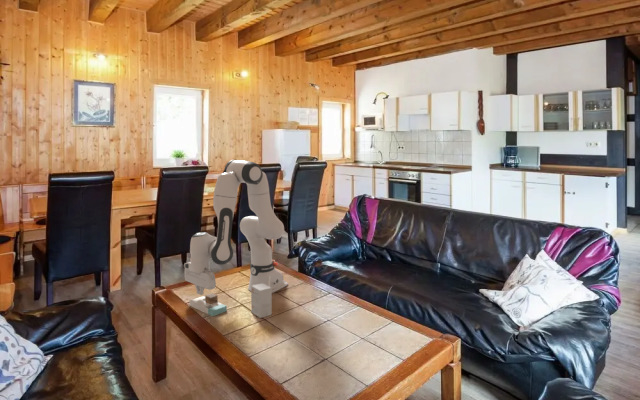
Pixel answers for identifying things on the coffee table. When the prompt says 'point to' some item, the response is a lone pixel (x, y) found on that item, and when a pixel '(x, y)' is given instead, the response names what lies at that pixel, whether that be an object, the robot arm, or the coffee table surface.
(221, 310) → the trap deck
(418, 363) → the coffee table surface
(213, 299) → the block
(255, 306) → the small box
